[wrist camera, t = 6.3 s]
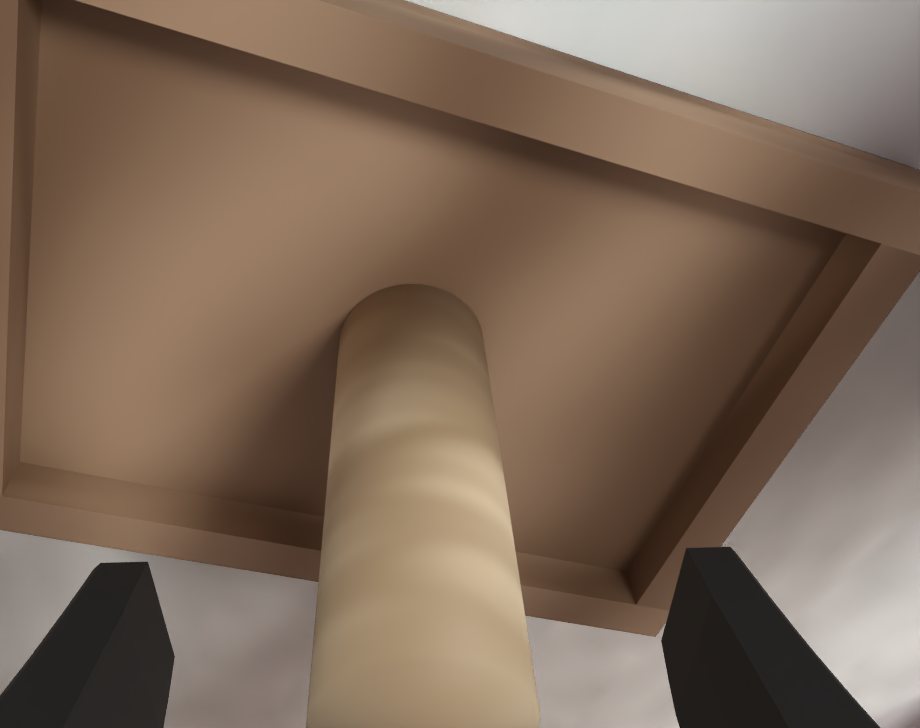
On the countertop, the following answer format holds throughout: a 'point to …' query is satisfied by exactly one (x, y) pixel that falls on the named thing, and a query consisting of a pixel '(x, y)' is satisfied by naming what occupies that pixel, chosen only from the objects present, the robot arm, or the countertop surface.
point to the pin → (417, 531)
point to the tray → (409, 280)
